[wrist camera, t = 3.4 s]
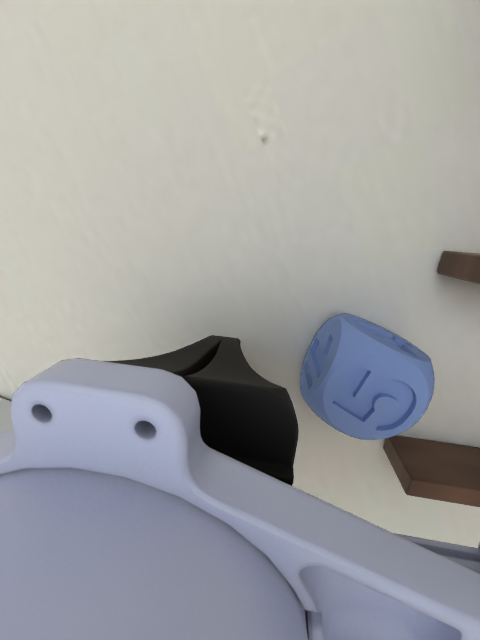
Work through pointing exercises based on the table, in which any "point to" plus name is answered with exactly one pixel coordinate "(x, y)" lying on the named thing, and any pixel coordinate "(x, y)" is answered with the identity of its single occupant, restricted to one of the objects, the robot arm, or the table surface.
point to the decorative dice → (365, 379)
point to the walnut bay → (436, 457)
